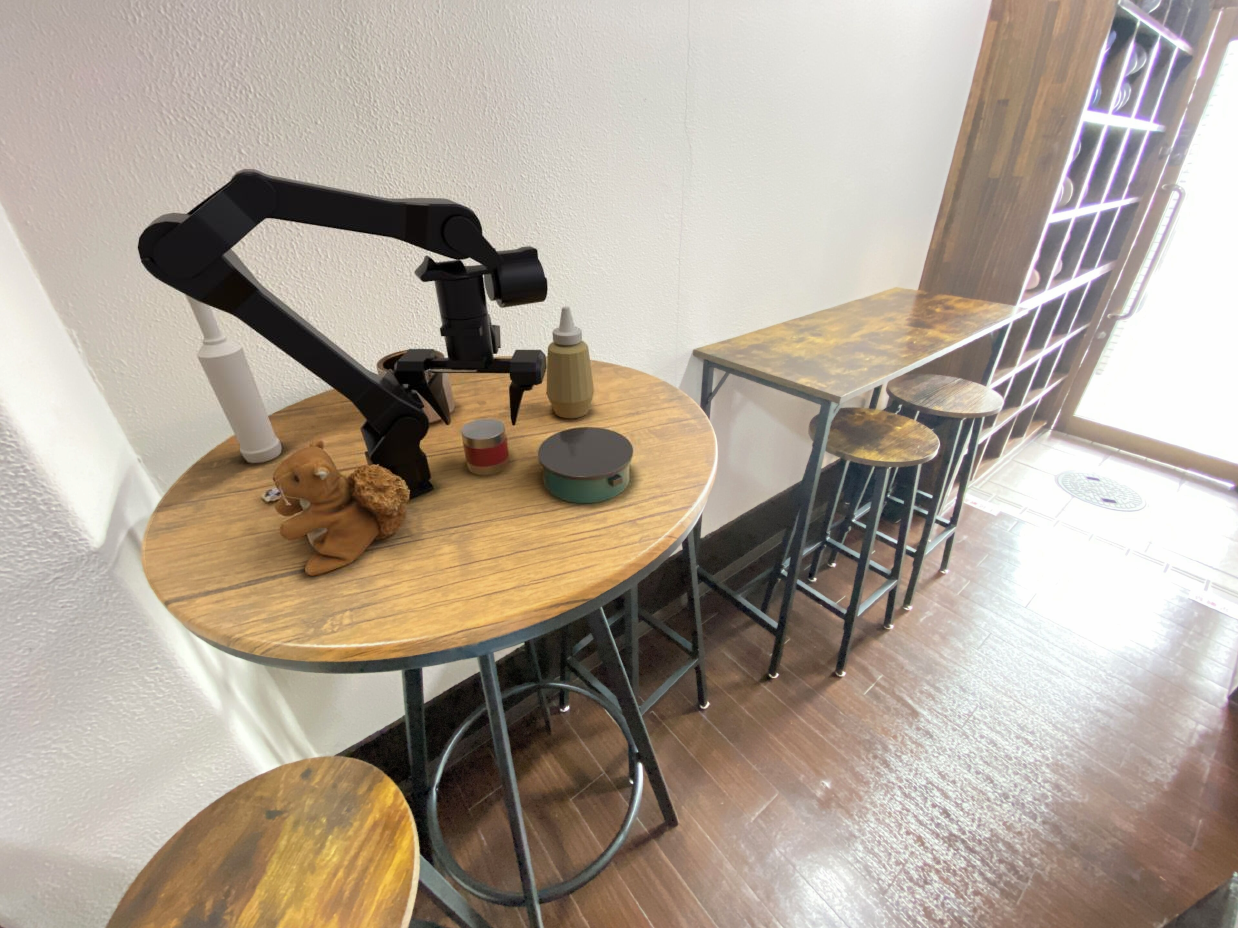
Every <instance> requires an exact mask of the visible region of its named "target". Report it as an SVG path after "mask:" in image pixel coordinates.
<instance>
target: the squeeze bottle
mask: <svg viewBox="0 0 1238 928" xmlns="http://www.w3.org/2000/svg"><path fill="white" fill-rule="evenodd" d="M551 333H552V341H551V342H550V344H548V345H547V356H546V364H547V369H546V392H545V393H546V396H547V398H548V400H549V403H550V405H551V408H552V409H553V412H554V414H555V415H556V416H557V417H560V418H564V419H578V418H581V417H584V416H586V415H587V414H588V413H589V409H590V407H591V403H592V401H593V397H594V393H595V387H594V379H593V372H592V364H591V358H590V349H589V345H588V344H587V342H585V341H584V340H583V330H582V329H581V328H580V327H578V326H575V323H574V319H573V315H572V311H571V308H570V306H562V307H561V312H560V319H559V325H558V327H555V328H554V329H553V330H552V332H551Z"/></svg>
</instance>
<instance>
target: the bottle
mask: <svg viewBox="0 0 1238 928" xmlns="http://www.w3.org/2000/svg"><path fill="white" fill-rule="evenodd" d="M185 297H186V300H187V302H188V304H189V306H190V308H191V310H192V313H193V314H194V317H195V319H196V322H197V324H198V326H199V328H200V331H201V333H202V336H203V338H202V340H201V341H202V343H203V344H202V345H201V346H200V348H199V349H198V351H197V352H196V357H197V359H198V361H199V363H200V365H201V367H202V370H203V371H204V374H205V376H206V378H207V380H208V382H209V384H210V386H211V388H212V390H213V392H214V395H215V396H216V398H217V400H218V403H219V405H220V407H221V409H222V411H223V413H224V415H225V417H226V419H227V421H228V423H229V426H230V429H232V431H233V434H234V436H235V438H236V440H237V442H238V444H239V446H240V448H239V451H240V454H241V455H242V457H243V459H244V460H246V462H247V463H250V464H260V463H265V462H268V461H269V462H270V461H272V460H274V459H276V458H278V457H279V456H280V454H282V450H283V449H282V448H283V447H282V444H281V441H280V439H279V438H278V437H277V436H276V434H275V431H274V429H273V426H272V423H271V421H270V418H269V415H268V412H267V410H266V407H265V405H264V402H263V399H262V396H261V394H260V391H259V388H258V386H257V383H256V380H255V378H254V376H253V373H252V370H251V367H250V365H249V362H248V359H247V357H246V354H245V352H244V349H243V347H242V345H240V344H239V343H237V342H235V341H232V340H231V339H228V338H227V336H226V335H224V334H222V331H221V329H220V327H219V324H218V321H217V320H216V317H215V314H214V312H213V310H212V307H211V306H209V305H206V304H204V303H201V302H199V301H197V300H195V299H193V298H191V297H189V296H187V295H185Z"/></svg>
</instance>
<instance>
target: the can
mask: <svg viewBox="0 0 1238 928" xmlns="http://www.w3.org/2000/svg"><path fill="white" fill-rule="evenodd" d="M460 432H461V433H460V434H461V439H462V446H463V451H464V456H465V460H466V465H467V469H468V471H469V472H470V473H472V474H473V475H477V476H492V475H496V474H499V473H502V472H503V471H504V470H506V469H507V468H508V467H509V465H510V455H509V454H510V452H509V445H508V437H507V432H506V426H505V423H504V422H503V421H501V420H499V419H495V418H479V419H475V420H472V421H469V422H467V423H466V424H465V425H463V427H462V428H461V430H460Z"/></svg>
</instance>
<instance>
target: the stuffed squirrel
mask: <svg viewBox="0 0 1238 928" xmlns="http://www.w3.org/2000/svg"><path fill="white" fill-rule="evenodd" d="M324 447H325V443H324V441H323V440H322V439H320V438H317V439H314V440H313V441H311V443H310V444H309V446H306V447H303V448H300V449H298V450H296V451H294V452H293V453H292V454H290V455H289V456H288V457H286V458H285V459H284V460H282V462H280V464H279V465H278V466H277V467H276V468H275V469H274V471H273V473H272V481H273V483H274V485H275V487H277V489H278V490H279V492H280V493H281V496H282V497H280V499H277V500H278V501H276V503H274V509H275V511H276V512H277V513H278V514H279V515H281V516H283V517H290V518H288V519H286V520H284V521H282V523H281V524H280V525H279V528H278V533H279V535H280V537H282V538H283V540H287V541H294V540H298V539H301V538H302V537H304V536H306V535H307V539H308V542H309V543H310V545H311V546H312V547H313V548H314V550H316V553H314V554H313V555H312V556H311V557H310V558H309V559H308V561H307V563H306V565H305V567H304V571H305V573H306V574H307V575H308V576H311V577H313V576H318V575H322V574H325V573H328V572H330V571H331V572H332V571H333V570H337V569H340V568H342V567H344V566H347V565H349V564H351V563H352V562H354V561H355V560H357V559H358V558H359V557H360V556H362V554H363V553H364V552H365V550H367V548H368V547H369V546H370V545H371V544H372V542H373V541H374V540H375V541H378V540H382V539H385V538H387V537H389V536H391V535H393V534H395V533H397V532H398V531H399V530H400V528H401V527H402V526H403V525H404V524H405V518H406V514H408V513H407V512H408V511H406V505H407V504H408V503H407V502H409V501H410V499H409V495H410V490H409V489H408V486H406V484H405V480H402V478H401V477H399V476H396V475H395V474H392V472H390V470H387V469H386V468H383V467H381V466H379V464H377V465H374V464H373V465H371V466H370V465H369V466H368V464H366V465H362V466H359V467H357V468H356V469H355V470H353V472H352V473H350V475H349V476H345V475H344V474H342V473H340V472H339V470H338V468H337V466H336V465H335V462H334V460H333V459H332V457H331V456H330V454H328V453H327V451H326V450H325V449H324Z"/></svg>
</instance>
